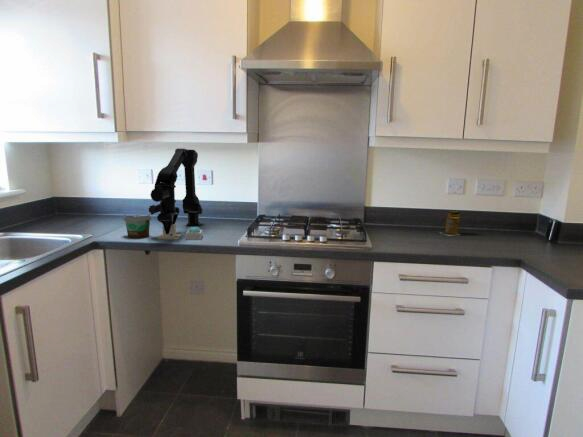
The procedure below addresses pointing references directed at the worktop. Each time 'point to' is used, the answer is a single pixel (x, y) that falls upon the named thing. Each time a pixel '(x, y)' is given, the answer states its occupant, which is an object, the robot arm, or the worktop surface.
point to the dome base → (194, 235)
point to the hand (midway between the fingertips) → (169, 231)
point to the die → (171, 233)
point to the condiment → (452, 224)
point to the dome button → (194, 230)
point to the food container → (137, 226)
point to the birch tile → (170, 238)
